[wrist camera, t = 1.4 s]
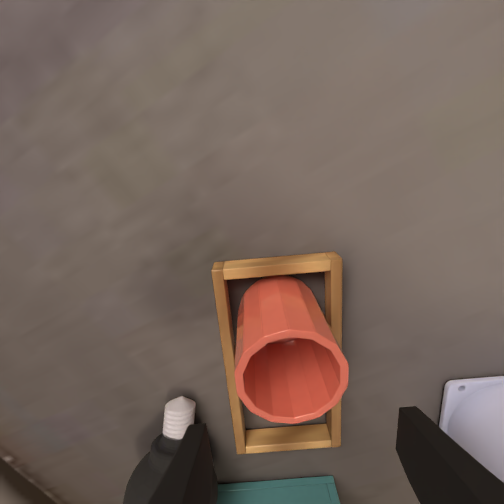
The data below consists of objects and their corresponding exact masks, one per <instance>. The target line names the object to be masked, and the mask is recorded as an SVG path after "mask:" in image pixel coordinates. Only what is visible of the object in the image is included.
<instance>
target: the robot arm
mask: <svg viewBox="0 0 504 504" xmlns="http://www.w3.org/2000/svg"><path fill="white" fill-rule="evenodd" d="M396 451H397V453H398V456H399V458H400V461H401V463H402V466H403V468H404V470H405V473H406V475H407V478H408V480H409V482H410V484H411V486H412V488H413V490H414V492H415V494H416V496H417V498H418V500H419V502H420V504H504V376H495V377H483V378H471V379H459V380H450V381H448V382H447V383H446V384H445V388H444V395H443V402H442V409H441V416H440V423H439V427H438V426H437V425H436V424H435V423H434V422H433V421H432V420H431V419H430V418H428V417H427V416H426V415H425V414H424V413H423V412H422V411H421V410H420V409H418V408H417V407H416V406H413V407H401V408H399V418H398V429H397V440H396ZM212 473H213V460H212V454H211V449H210V443H209V437H208V432H207V426H206V423H203V424H191V425H189V426H188V427H187V429H186V431H185V434H184V436H183V438H182V440H181V442H180V444H179V446H178V448H177V450H176V452H175V454H174V456H173V458H172V460H171V462H170V464H169V466H168V468H167V470H166V471H165V473H164V475H163V477H162V479H161V480H160V482H159V484H158V486H157V488H156V489H155V491H154V493H153V495H152V496H151V498H150V500H149V501H148V503H147V504H210V500H211V489H212Z"/></svg>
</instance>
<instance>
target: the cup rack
mask: <svg viewBox="0 0 504 504" xmlns="http://www.w3.org/2000/svg"><path fill="white" fill-rule="evenodd" d="M322 271H325V317H326V319H327V321H328V323H329V325H330V327H331V329H332V331H333V333H334V335H335V338H336V340H337V342H338V344H339V346H340V348H341V350H342V258H341V257H340V256H339V255H338V254H337V253H336V252H325V253H313V254H302V255H290V256H279V257H267V258H256V259H245V260H233V261H225V262H215V263H214V265H213V268H212V271H211V272H212V280H213V287H214V294H215V301H216V308H217V315H218V322H219V329H220V337H221V344H222V351H223V358H224V365H225V372H226V379H227V386H228V394H229V401H230V408H231V415H232V422H233V429H234V436H235V443H236V450H237V454H246V453H247V454H249V453H262V452H275V451H287V450H300V449H313V448H325V447H340V446H341V399H340V400H339V402H338V404H337V405H336V406H334V407H333V408H331V409H330V410H328V411H327V412H326V424H313V425H301V426H288V427H276V428H263V429H251V430H245V422H244V414H243V406H242V400H241V399H240V398H239V396H238V395H237V391H236V383H235V376H234V371H235V355H236V350H235V342H234V334H233V326H232V318H231V310H230V301H229V293H228V285H227V280H230V279H241V278H253V277H264V276H276V275H287V274H299V273H310V272H322Z"/></svg>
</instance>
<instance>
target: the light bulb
mask: <svg viewBox="0 0 504 504" xmlns="http://www.w3.org/2000/svg"><path fill="white" fill-rule="evenodd" d="M195 405H196V403H195V402H194V401H193V400H191V399H188V398H186V397H183V396H181V397H178V398H176V399H173V400H171V401H169V402H168V403H167V404H166V405H165V411H164V413H165V414H164V424H163V433H162V434H161V435H159V436H158V437H157V438H156V439H155V440H154V441H153V443H152V445H151V451H150V452H149V453H148V454H147V455H146V456H145V457H144V458H143V459H142V460H141V461H140V463H139V464H138V465H137V467H136V468H135V470H134V471H133V473H132V475H131V477H130V479H129V482H128V484H127V487H126V491H125V495H124V501H123V504H147V503H148V501H149V500H150V498H151V496H152V495H153V493H154V491H155V489H156V488H157V486H158V484H159V482H160V480H161V479H162V477H163V475H164V473H165V471H166V470H167V468H168V466H169V464H170V462H171V460H172V458H173V456H174V454H175V452H176V450H177V448H178V446H179V444H180V442H181V440H182V438H183V436H184V434H185V431H186V429H187V427H188V426H189V425H191V424H194V415H195ZM217 497H218V483H217V476H216V473H215V470H214V466H213V473H212V489H211V500H210V504H216V503H217Z"/></svg>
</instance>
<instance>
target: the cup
mask: <svg viewBox="0 0 504 504" xmlns="http://www.w3.org/2000/svg"><path fill="white" fill-rule="evenodd" d="M348 367H349V365H348V362H347V360H346V358H345V356H344V354H343V352H342V350H341V348H340V346H339V344H338V342H337V340H336V338H335V335H334V333H333V331H332V329H331V327H330V325H329V323H328V321H327V319H326V317H325V315H324V313H323V311H322V309H321V307H320V305H319V303H318V301H317V300H316V298H315V296H314V294H313V292H312V291H311V289H310V288H309V287H308V286H307V285H306V284H305V283H303V282H302V281H300V280H299V279H297V278H294V277H291V276H287V275H276V276H268V277H265V278H262V279H260V280H258V281H256V282H255V283H254V284H252V285H251V286H250V287H249V288H248V289H247V290H246V292H245V293H244V295H243V297H242V299H241V302H240V306H239V309H238V322H237V339H236V355H235V371H234V376H235V383H236V391H237V395H238V396H239V398H240V399H241V400H242V402H243V403H244V404H245V405H246V407H247V408H248V409H249V411H251V412H252V413H254V414H256V415H258V416H260V417H262V418H264V419H266V420H268V421H271V422H278V423H289V424H297V423H300V422H304V421H308V420H312V419H316V418H318V417H320V416H321V415H323V414H324V413H326V412H327V411H328V410H330V409H331V408H333V407H334V406H336V405H337V404H338V402H339V400H340V399H341V397H342V395H343V393H344V392H345V390H346V388H347V387H348Z"/></svg>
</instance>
